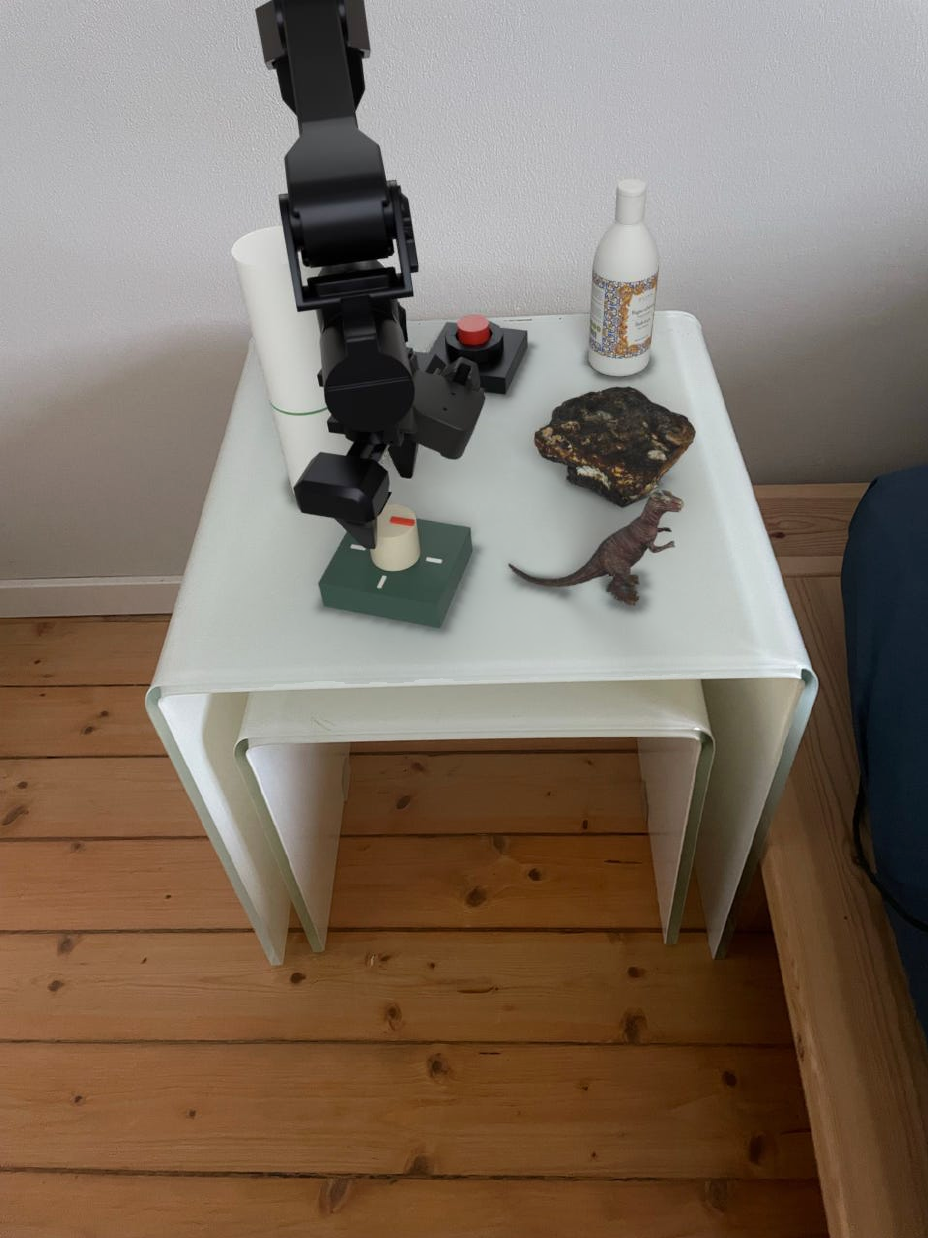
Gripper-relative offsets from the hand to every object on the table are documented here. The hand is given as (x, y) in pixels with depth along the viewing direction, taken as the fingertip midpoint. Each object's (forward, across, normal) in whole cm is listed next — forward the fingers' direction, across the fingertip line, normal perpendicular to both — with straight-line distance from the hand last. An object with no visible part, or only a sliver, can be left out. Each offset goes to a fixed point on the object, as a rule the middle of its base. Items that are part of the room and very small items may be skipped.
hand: (389, 511), depth 78 cm
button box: (+8, +35, +3) cm, 36 cm away
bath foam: (+8, +39, -13) cm, 42 cm away
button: (+5, +35, +3) cm, 35 cm away
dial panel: (+8, 0, 0) cm, 8 cm away
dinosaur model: (+8, +3, -17) cm, 19 cm away
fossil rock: (+8, +19, -16) cm, 26 cm away
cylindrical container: (+8, +11, +12) cm, 18 cm away
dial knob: (+5, 0, 0) cm, 5 cm away
